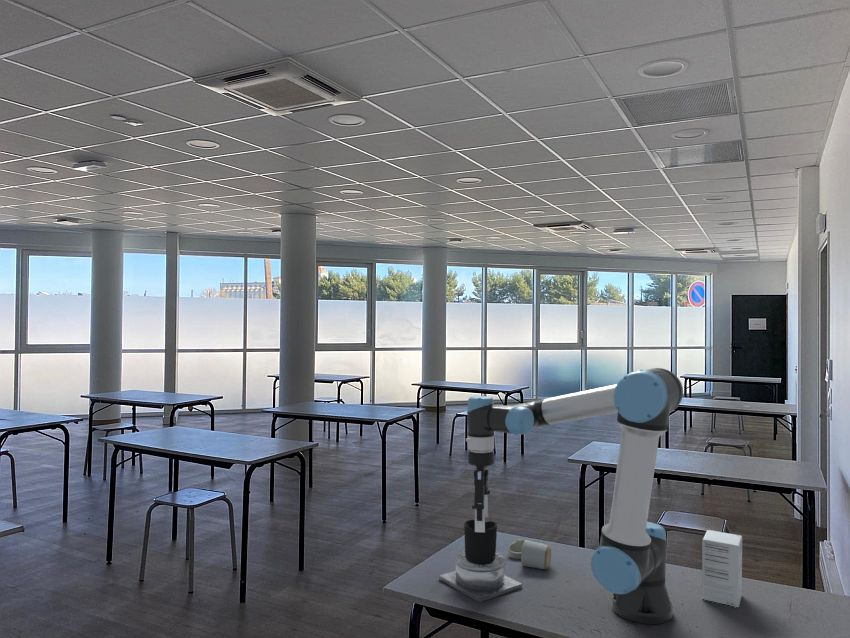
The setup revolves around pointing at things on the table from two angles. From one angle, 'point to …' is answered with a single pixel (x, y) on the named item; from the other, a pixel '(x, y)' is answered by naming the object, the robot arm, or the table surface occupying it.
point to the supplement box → (722, 567)
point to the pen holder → (480, 542)
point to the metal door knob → (480, 578)
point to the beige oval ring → (516, 549)
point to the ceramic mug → (535, 555)
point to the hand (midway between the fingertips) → (481, 524)
